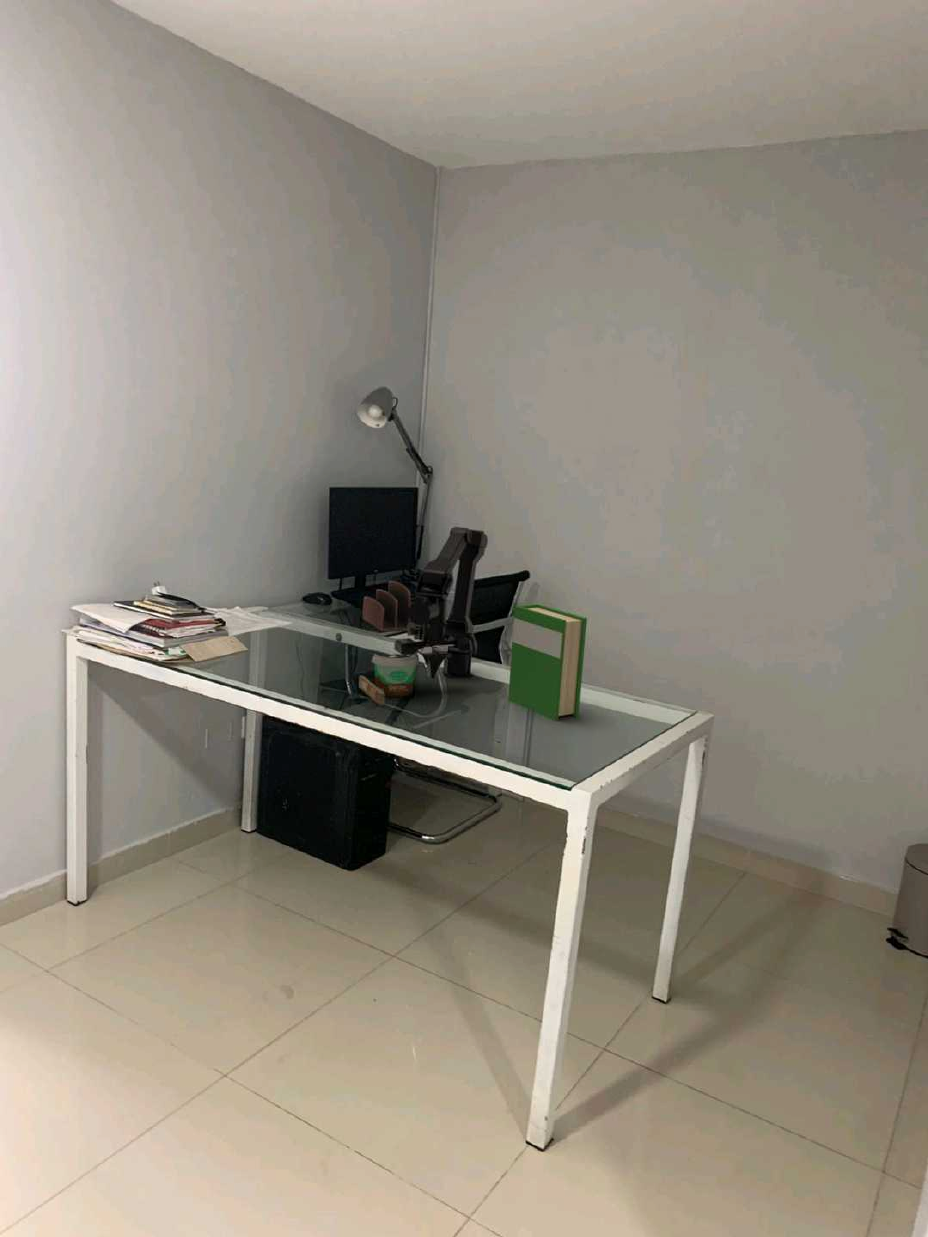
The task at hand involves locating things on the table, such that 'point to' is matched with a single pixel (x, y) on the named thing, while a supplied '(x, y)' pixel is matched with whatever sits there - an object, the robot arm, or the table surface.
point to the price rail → (371, 690)
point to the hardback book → (547, 660)
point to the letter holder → (388, 608)
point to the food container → (395, 673)
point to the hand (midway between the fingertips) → (431, 678)
